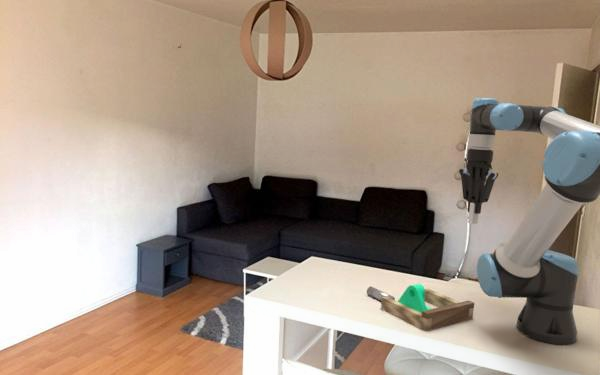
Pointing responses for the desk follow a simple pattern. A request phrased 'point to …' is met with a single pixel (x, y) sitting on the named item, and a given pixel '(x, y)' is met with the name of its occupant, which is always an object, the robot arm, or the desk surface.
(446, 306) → the u-shaped wooden frame
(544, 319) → the robot arm
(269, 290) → the desk surface
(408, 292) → the camera mount
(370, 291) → the shaft stub
